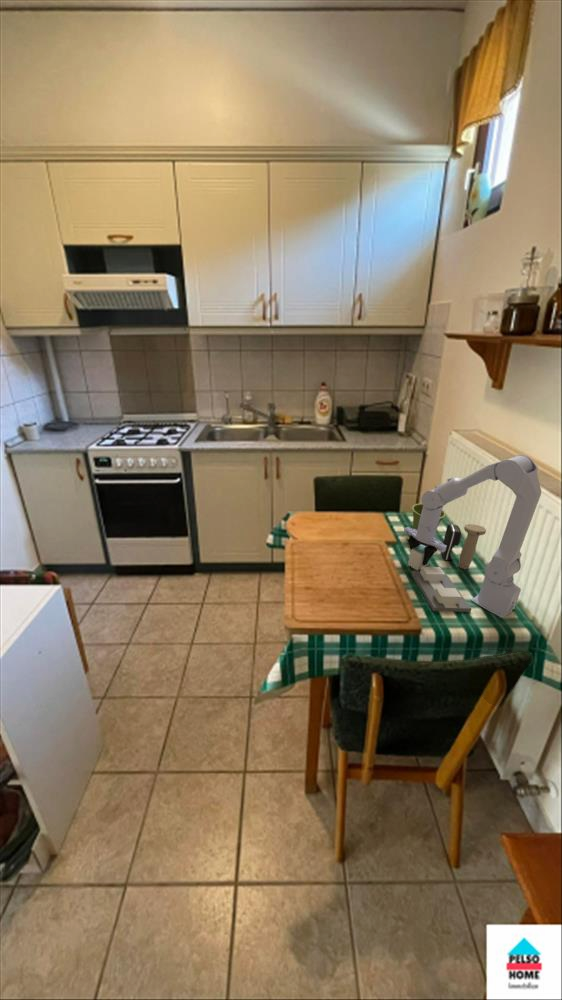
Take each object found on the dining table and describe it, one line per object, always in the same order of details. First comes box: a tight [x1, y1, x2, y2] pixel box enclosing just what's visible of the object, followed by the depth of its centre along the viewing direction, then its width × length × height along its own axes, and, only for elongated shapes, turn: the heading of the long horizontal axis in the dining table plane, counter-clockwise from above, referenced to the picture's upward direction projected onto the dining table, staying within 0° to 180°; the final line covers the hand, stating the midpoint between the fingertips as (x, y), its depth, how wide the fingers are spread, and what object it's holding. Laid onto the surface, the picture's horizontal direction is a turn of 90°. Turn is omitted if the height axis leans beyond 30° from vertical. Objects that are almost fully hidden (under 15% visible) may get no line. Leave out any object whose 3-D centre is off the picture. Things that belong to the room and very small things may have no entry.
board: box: [411, 566, 472, 613], centre depth 126 cm, size 18×11×4 cm, turn 4°
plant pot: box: [411, 503, 446, 530], centre depth 156 cm, size 12×12×11 cm
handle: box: [458, 523, 487, 570], centre depth 138 cm, size 5×6×15 cm
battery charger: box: [441, 523, 462, 561], centre depth 145 cm, size 7×4×11 cm, turn 169°
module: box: [407, 543, 430, 571], centre depth 139 cm, size 4×6×6 cm, turn 129°
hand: (418, 560), depth 139 cm, fingers closed on module, 4 cm apart
